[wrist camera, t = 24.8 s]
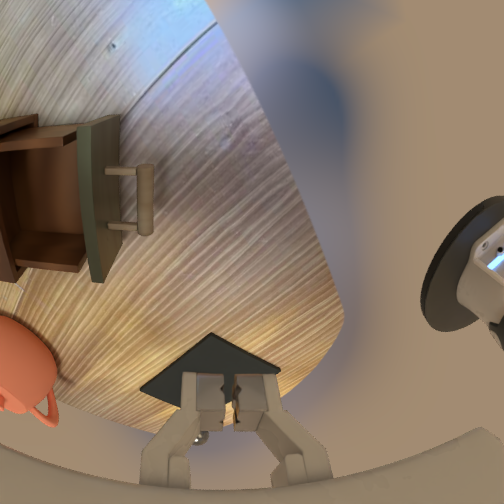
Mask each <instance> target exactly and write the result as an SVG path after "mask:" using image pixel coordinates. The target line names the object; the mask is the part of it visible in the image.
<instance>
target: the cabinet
mask: <svg viewBox="0 0 504 504" xmlns="http://www.w3.org/2000/svg"><path fill="white" fill-rule="evenodd" d="M36 127H38V114H31V115H25V116H18V117H12V118H7V119H1V120H0V135H2V134H4V133H7V132H9V131H13V130H20V129H28V128H36ZM26 269H27V267H22V266H15V264H14V261H13V257H12V254H11V250H10V246H9V243H8V239H7V235H6V230H5V226H4V222H3V217H2V212H1V207H0V281H4V282H10V283H16V282H17V281H18V280H19V278H20V277H21V276H22V274H23V273H24V271H25V270H26Z"/></svg>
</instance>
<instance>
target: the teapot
mask: <svg viewBox="0 0 504 504" xmlns="http://www.w3.org/2000/svg"><path fill="white" fill-rule="evenodd" d="M56 378H57V367H56V364H55V361H54V358H53V355H52V353H51V352H50V350H49V349H48V348H47V346H46V345H45V344H44V343H43V342H42V341H41V340H40V339H39V338H38V337H37V336H36V335H35V334H34V333H32V332H31V331H30V330H29V329H27V328H26V327H24V326H23V325H21V324H20V323H18V322H16V321H15V320H13V319H11V318H9V317H6V316H2V315H0V411H4V408H6V409H8V410H10V411H12V412H14V413H17V414H23V413H25V412H27V411H30V412H31V413H32V414H33V415H34V416H36V417H37V418H38V419H39V420H40V421H41V422H43V423H44V424H46V425H47V426H50V427H56V426H57V425H58V422H59V414H58V408H57V404H56V400H55V396H54V392H53V388H52V387H53V385H54V383H55V381H56ZM46 396H47V399H48V416H45V415H43V414H42V413H41V412H40V411H39V410H37V409H36V408H35V406H36V405H37V404H38V403H40V402H41V401H42V400H43V399H44V398H45V397H46Z"/></svg>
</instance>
